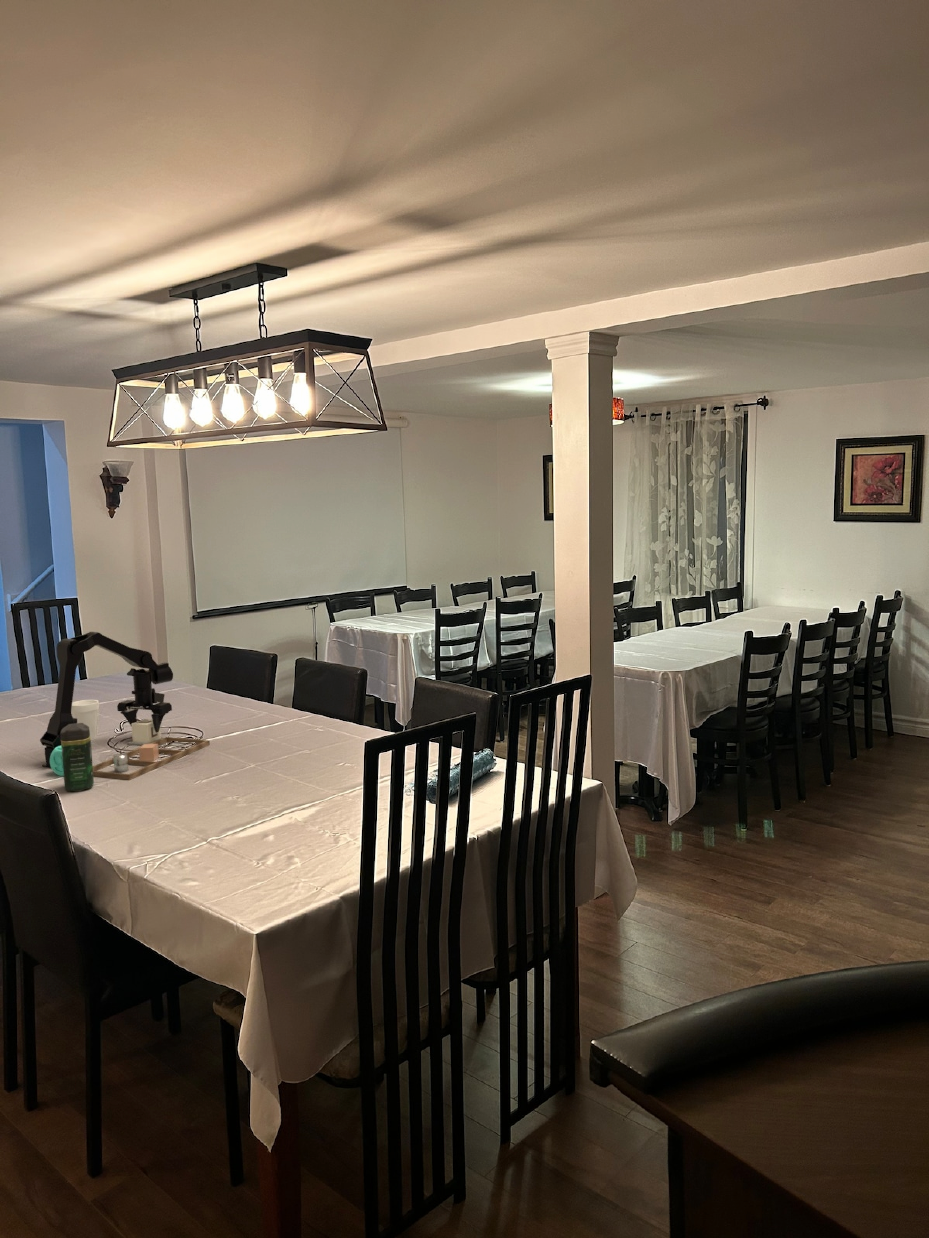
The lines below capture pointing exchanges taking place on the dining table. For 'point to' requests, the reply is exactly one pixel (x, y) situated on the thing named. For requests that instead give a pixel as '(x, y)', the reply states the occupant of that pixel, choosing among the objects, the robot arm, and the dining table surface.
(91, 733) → the foam cup
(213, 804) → the dining table surface
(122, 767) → the grey metal canister
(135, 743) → the slate pad
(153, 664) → the robot arm
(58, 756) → the teal round container
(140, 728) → the letter cube
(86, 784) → the coffee jar
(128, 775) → the walnut rack
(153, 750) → the terracotta block
